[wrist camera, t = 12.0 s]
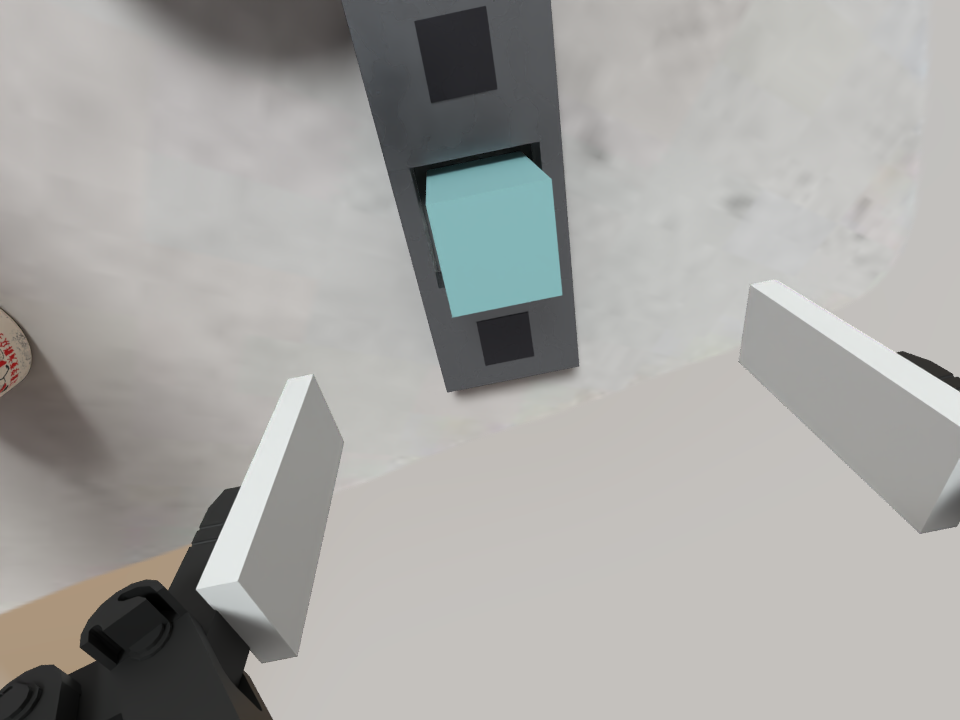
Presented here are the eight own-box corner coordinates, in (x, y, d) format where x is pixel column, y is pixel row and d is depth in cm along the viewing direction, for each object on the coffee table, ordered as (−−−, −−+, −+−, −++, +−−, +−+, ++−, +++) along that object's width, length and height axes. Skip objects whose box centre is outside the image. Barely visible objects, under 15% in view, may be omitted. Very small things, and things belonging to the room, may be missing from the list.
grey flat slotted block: (348, -1, 25) (338, -9, 22) (534, -41, 25) (547, -54, 22) (446, 370, 38) (447, 393, 35) (569, 345, 37) (579, 366, 35)
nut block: (426, 170, 30) (424, 205, 22) (520, 150, 30) (552, 178, 22) (446, 259, 33) (451, 317, 25) (532, 242, 33) (563, 295, 25)
